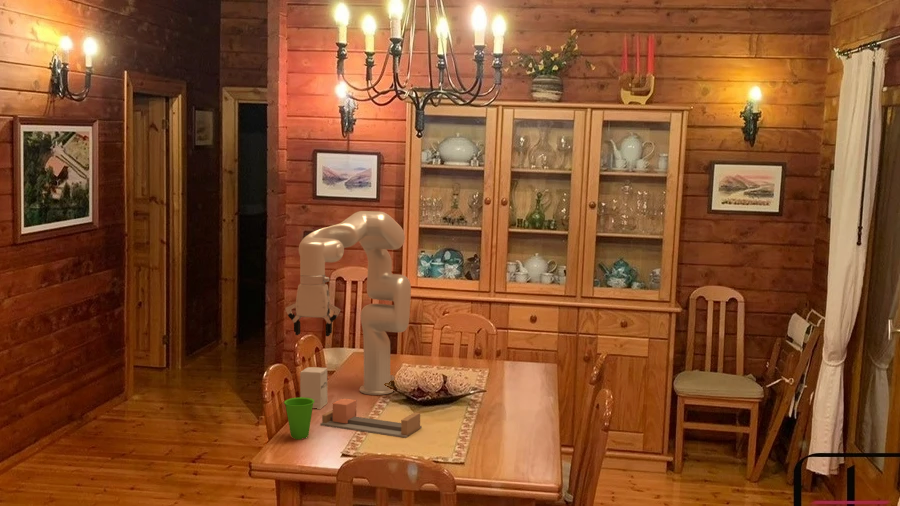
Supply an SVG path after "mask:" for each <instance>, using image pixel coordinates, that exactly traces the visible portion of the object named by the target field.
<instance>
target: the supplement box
mask: <svg viewBox="0 0 900 506" xmlns="http://www.w3.org/2000/svg"><path fill="white" fill-rule="evenodd" d="M299 374H300V375H299V377H300V378H299V381H300V383H299V384H300V385H299V387H300V392H299V393H300V396H299V397H305V398H311V399H313V400H314V401H315V402H314V403H313V408H317V409H316V410H321V409H322V408H324V406H326V405H327V404H328V367H317V366H316V367H314V366H313V367H312V366H308V367H306V368H304V369H303V370H301V371H300V373H299Z"/></svg>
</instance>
